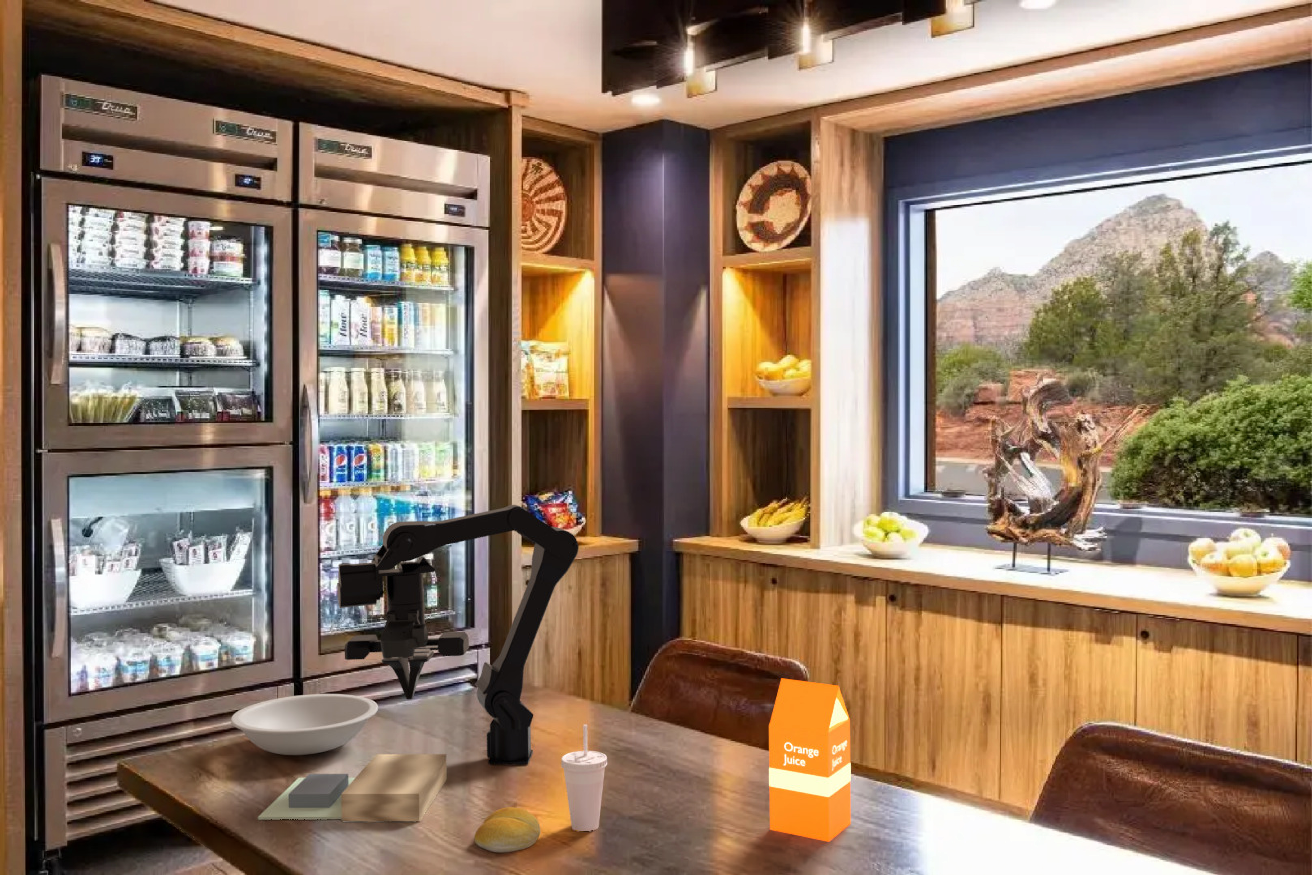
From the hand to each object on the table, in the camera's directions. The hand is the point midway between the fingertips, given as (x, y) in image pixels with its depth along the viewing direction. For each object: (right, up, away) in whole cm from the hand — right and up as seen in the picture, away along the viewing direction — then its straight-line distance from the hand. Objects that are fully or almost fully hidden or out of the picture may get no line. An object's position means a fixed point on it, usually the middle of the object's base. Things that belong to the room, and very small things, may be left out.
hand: (409, 698), depth 183 cm
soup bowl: (-20, -12, +13) cm, 27 cm away
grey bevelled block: (-11, -10, -12) cm, 19 cm away
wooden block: (+1, -12, -13) cm, 18 cm away
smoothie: (+29, -12, -25) cm, 40 cm away
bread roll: (+19, -13, -29) cm, 37 cm away
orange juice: (+60, -12, -25) cm, 67 cm away
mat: (-11, -12, -12) cm, 20 cm away
